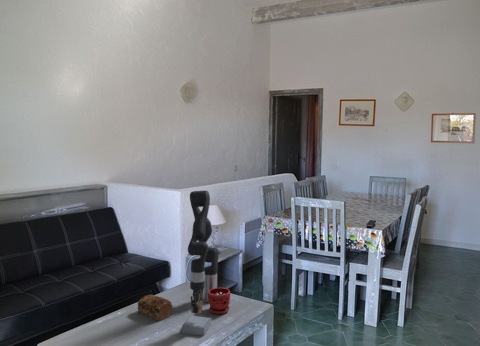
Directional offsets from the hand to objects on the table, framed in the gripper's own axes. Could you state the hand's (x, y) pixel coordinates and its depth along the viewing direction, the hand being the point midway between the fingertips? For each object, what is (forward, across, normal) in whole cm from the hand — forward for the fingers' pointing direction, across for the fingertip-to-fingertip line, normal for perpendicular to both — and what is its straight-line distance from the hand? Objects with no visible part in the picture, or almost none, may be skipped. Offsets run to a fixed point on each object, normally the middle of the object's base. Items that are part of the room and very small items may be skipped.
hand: (196, 310), depth 205 cm
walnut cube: (0, 0, 0) cm, 0 cm away
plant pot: (+10, -25, +5) cm, 28 cm away
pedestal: (+10, 0, 0) cm, 10 cm away
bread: (+10, -11, -29) cm, 32 cm away
